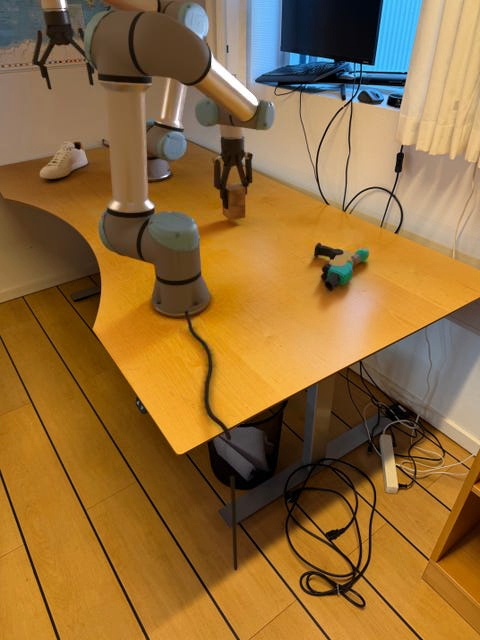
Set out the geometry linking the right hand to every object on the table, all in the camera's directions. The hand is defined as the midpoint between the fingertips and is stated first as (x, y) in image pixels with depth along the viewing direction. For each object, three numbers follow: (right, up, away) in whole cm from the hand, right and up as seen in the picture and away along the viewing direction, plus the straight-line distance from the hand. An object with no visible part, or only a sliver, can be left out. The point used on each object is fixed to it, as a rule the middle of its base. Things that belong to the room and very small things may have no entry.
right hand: (233, 205), depth 163 cm
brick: (0, -3, +2) cm, 4 cm away
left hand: (-54, +38, -6) cm, 66 cm away
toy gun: (+29, -25, -25) cm, 46 cm away
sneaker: (-76, +26, +47) cm, 93 cm away
